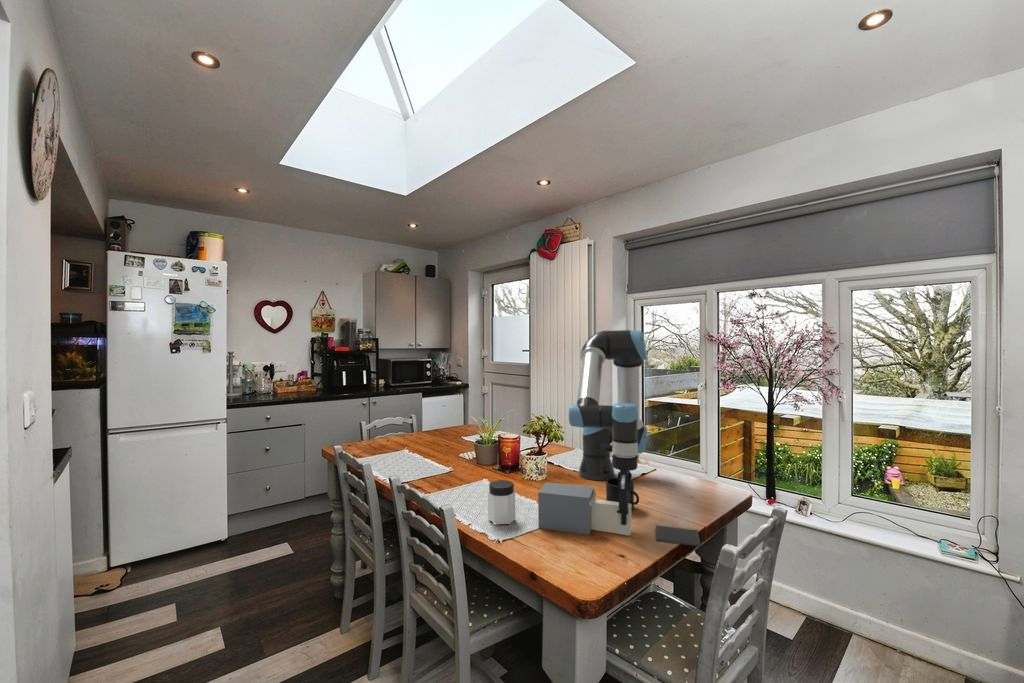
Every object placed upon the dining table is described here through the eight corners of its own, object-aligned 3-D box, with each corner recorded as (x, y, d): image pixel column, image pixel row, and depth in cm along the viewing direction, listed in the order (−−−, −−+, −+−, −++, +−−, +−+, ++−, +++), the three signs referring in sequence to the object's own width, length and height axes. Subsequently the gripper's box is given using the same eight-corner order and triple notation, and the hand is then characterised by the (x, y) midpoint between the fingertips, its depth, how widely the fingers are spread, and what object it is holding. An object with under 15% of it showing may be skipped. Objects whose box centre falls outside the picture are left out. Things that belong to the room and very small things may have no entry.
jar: (515, 515, 146) (515, 479, 146) (515, 525, 138) (515, 487, 138) (489, 515, 146) (488, 479, 146) (487, 525, 138) (487, 488, 138)
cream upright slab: (588, 525, 137) (589, 498, 137) (631, 531, 133) (631, 503, 133) (587, 529, 135) (587, 501, 135) (630, 535, 130) (630, 507, 130)
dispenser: (546, 515, 146) (546, 482, 146) (596, 521, 140) (596, 487, 140) (538, 528, 136) (538, 492, 136) (591, 535, 131) (591, 498, 131)
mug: (632, 517, 144) (631, 490, 144) (601, 507, 152) (600, 482, 152) (645, 509, 150) (645, 483, 150) (615, 500, 159) (615, 476, 159)
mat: (656, 526, 136) (656, 525, 136) (697, 531, 132) (697, 530, 132) (656, 540, 127) (656, 539, 127) (700, 546, 123) (700, 545, 123)
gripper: (614, 447, 141) (614, 519, 141) (608, 460, 126) (608, 541, 126) (638, 449, 139) (638, 523, 139) (635, 462, 124) (635, 545, 124)
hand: (624, 531), depth 132 cm, fingers closed on cream upright slab, 3 cm apart
